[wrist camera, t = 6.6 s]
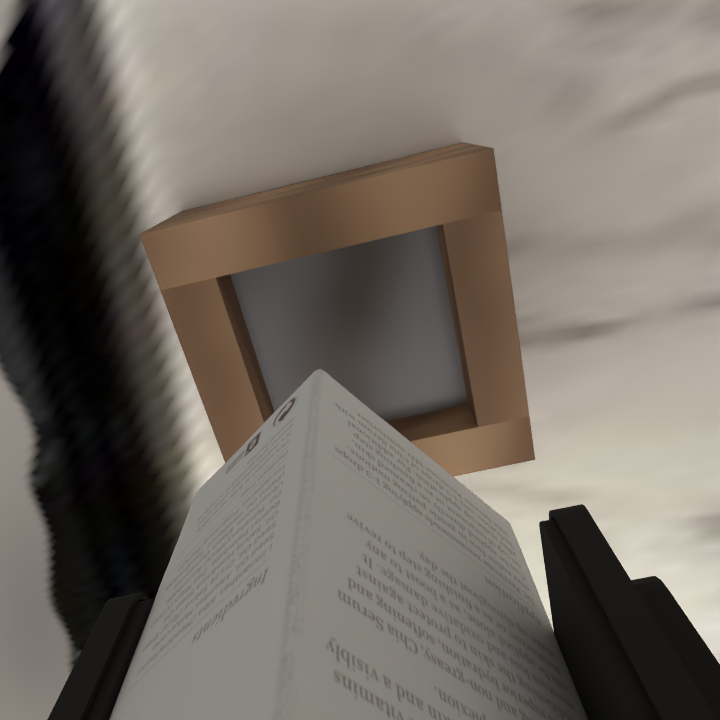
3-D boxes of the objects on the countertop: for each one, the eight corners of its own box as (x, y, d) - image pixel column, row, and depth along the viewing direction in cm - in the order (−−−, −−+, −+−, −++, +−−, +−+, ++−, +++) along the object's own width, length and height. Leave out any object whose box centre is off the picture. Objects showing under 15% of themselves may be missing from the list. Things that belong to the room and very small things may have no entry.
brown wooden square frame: (463, 142, 23) (493, 148, 19) (502, 401, 28) (534, 459, 23) (180, 211, 24) (139, 234, 19) (263, 452, 29) (246, 518, 24)
